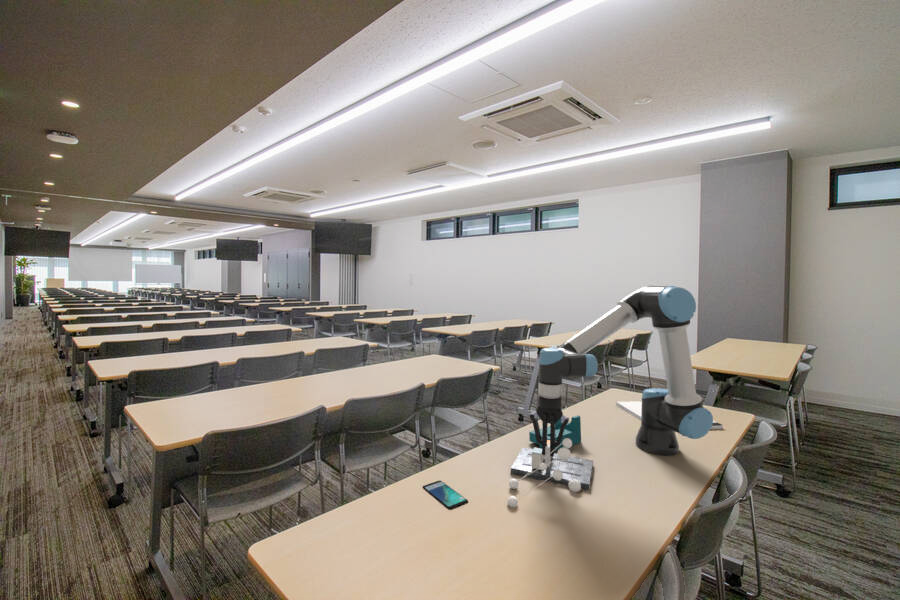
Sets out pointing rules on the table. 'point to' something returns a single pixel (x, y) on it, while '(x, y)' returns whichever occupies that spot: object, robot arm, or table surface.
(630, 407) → the flat white panel
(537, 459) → the block
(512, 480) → the molecule model
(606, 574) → the table surface
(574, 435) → the teal l-shaped bracket
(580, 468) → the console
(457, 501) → the smartphone
